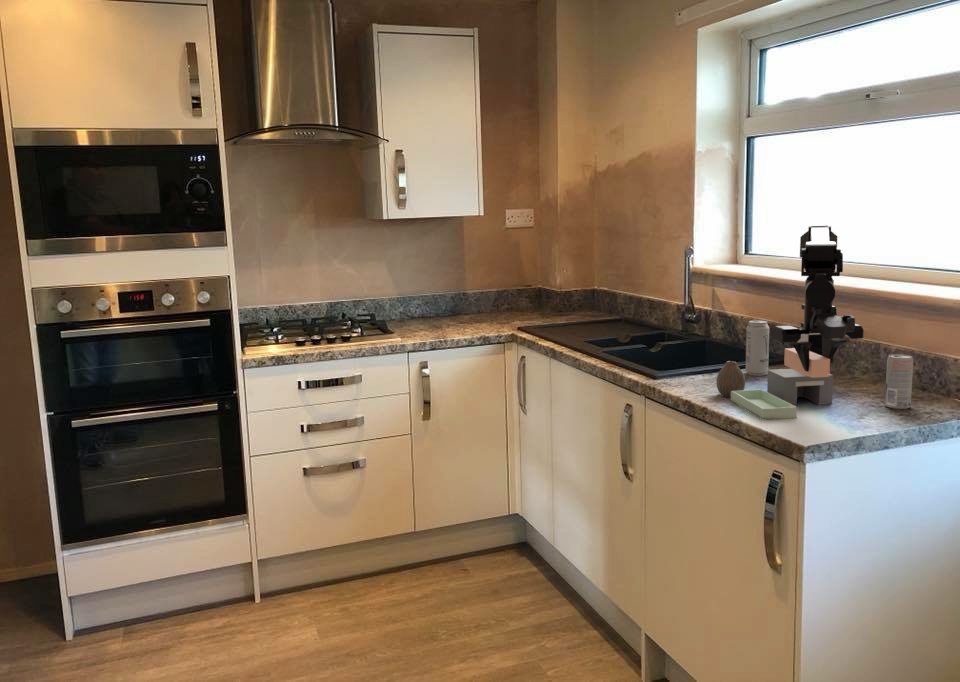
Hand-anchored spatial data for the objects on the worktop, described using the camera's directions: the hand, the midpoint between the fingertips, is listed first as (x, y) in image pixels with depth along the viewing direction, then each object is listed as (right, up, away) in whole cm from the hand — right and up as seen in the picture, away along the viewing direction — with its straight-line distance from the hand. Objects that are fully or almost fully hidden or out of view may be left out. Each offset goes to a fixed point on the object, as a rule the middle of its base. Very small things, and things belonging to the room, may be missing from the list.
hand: (815, 370), depth 178 cm
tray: (-8, -9, +11) cm, 17 cm away
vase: (-11, -8, +24) cm, 28 cm away
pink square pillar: (0, 0, +5) cm, 5 cm away
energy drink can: (+4, -3, +48) cm, 49 cm away
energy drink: (+23, -9, +9) cm, 26 cm away
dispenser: (+3, -8, +18) cm, 20 cm away
